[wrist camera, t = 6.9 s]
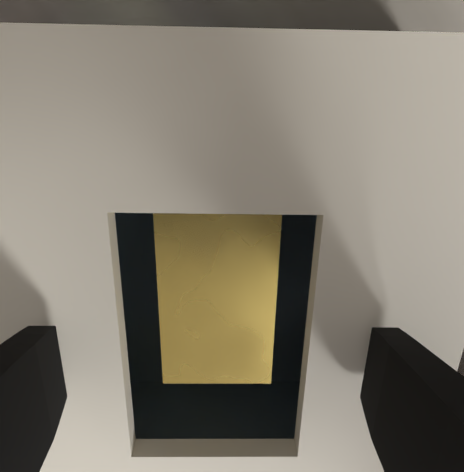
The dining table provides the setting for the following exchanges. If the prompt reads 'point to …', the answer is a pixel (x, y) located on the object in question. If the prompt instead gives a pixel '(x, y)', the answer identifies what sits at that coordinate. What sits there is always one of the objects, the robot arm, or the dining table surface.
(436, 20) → the dining table surface
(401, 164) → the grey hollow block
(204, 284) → the gold block
